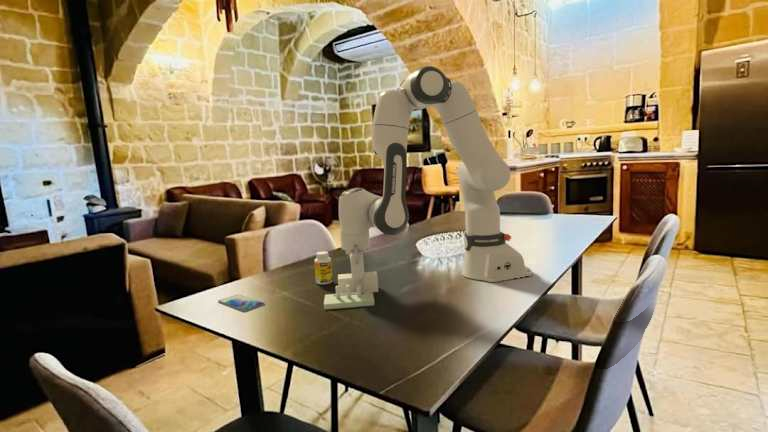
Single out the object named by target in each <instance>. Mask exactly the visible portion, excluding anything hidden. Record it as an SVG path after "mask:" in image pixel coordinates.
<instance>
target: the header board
mask: <svg viewBox="0 0 768 432" xmlns="http://www.w3.org/2000/svg"><path fill="white" fill-rule="evenodd" d="M370 306H371V307H372V306H375V297H374V292H372V291H364V292H361V284H357V292H352V293H351V290H350V285H346V293H340V286H338V285H336V286H335V293H331V294H330V293H329V294H324V300H323V310H324V311H325V310H335V309H346V308H358V307H370Z"/></svg>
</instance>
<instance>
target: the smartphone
mask: <svg viewBox="0 0 768 432" xmlns="http://www.w3.org/2000/svg"><path fill="white" fill-rule="evenodd" d="M217 301H218V304H220V305H224V306H226V307H228V308H231V309H234V310H237V311H239V312H243V313H247V312H250V311H253V310H255V309H256V310H257V309H258V308H261V307H263V306H265V305H266V303H265V302H262V301H259V300H257V299H253V298H250V297H247V296H245V295H241V294H234V295H232V296H229V297H225V298H222V299H219V300H217Z"/></svg>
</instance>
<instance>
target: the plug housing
mask: <svg viewBox="0 0 768 432" xmlns="http://www.w3.org/2000/svg"><path fill="white" fill-rule="evenodd" d="M378 278H379V277H378V272H377V271H368V272H367V271H364V279H362V280H361V287H362V288H361V292H364V291H372V292H373V293H379V279H378ZM337 284H338V285H337V286H340V293H346V285H350V290H351V293H352V292H357V289H356V287H355V280H352V274H351V273H341V274H337Z"/></svg>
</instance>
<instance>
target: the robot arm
mask: <svg viewBox="0 0 768 432" xmlns="http://www.w3.org/2000/svg"><path fill="white" fill-rule="evenodd" d="M429 107H432V108H434V109H435V110H436V111H437V113H438V114H439V116H440V119H441V121H442V124H443V127H444V128H443V129H445V132H446V135H447V137H448V140H449V142H450V144H451V147H452V149H453V150H454V151H455V153H456V154H457V155H458V157H459V158H460V159H461V162H460V163H459V164H458V166H457V168H456V176H457V180H458V182H459V186H460V190H461V196H462V200H463V206H464V217H465V219H464V222H465V223H464V225H465V232H464V236H463V245H464V250H465V252H464V261H463V266H462V267H463V268H462V269H461V275H462V276H463V277H465V278H468V279H472V280H476V281H477V280H479V281H485V282H489V283H495V282H503V280H504V281H509V279H510V280H515V279H514V278H517V279H521V278H520V277H523V278H526V277H525V276H529V275H532V276H533V271H532V269H530V267H528V266H526V264H525V260H524V257H523V255H522V253H520V252H519V251H517V250H516V249H515V248H513V246H511V245H509V244H508V243H507V242H509V241H511V240H512V236H511V235H510V234H509V233H504V232H502V231H501V210H500V206H499V204H498V202H497V199H496V195H495V192H497V191H500V190H502V189H504V188H505V187H506V186H507V185H508V183H509V181H510V179H511V169H510V166H509V164H508V163H506V161H504V159H503V158H502V157H501V156H500V154H499V152H498V151H497V149H496V148H495V146H494V144H493V143H492V142H491V140H490V138H489V136H488V135H487V132H486V130H485V129H484V128H485V127H484V126H483V124H482V121H481V119H480V118H481V117H480V116H479V113H478V109H477V107H476V105H475V103H474V100H473V98H472V96H471V94H470V93H469V91H468V89H467V87H466V86H465V85H464V83H462V82H461V81H458V80H452V81H451V80H450V79H449V78H448V77H447V76H446V75H445V73H444V72H443V71H442V70H440V69H439V68H437V67H436V66H431V65H428V66H427V65H426V66H422V67H420V68H418V69H416V70H415V71H412V73H409V75H408V76H407V77H406V78H405V79H404V80H403V81H402V82H401V84H400V85H399V86H398V88H397V89H386V90H384V91H383V92H381V93H380V94H379V96H378V98H377V102H376V105H375V108H374V109H375V110H374V113H373V120H372V127H371V144H372V149H373V150H374V152H375V153H376V154H377V156H378V157H379V158H380V161H381V162H382V165H383V170H384V172H383V190H382V196H379V195H377V194H374V193H372V192H370V191H367V190H366V189H365V188H363V187H353V188H350V189H347V190H345V191H343V192H342V193H340V195H339V198H338V220H339V223H340V231H339V235H340V236H339V237H340V249H341V250H344V251H345V254H346V255H348V257H349V261H350V271H351V273H350V274H352V280H355V287H356V289H357V284H361V280H362V279H364V272H365V267H364V266H365V264H364V255H363V254H366V253H367V249H368V248H370V246H371V240H370V229H371V228H376V229H377V230H379V231H380V233H382V234H384V235H387V236H395V235H398V234H400V233H401V232H403V231H404V229H406V227H407V226H408V224H409V220H410V212H409V207H408V205H407V201H406V185H407V168H408V167H407V163H408V162H407V154H408V153H407V150H408V138H409V132H410V131H409V129H410V119H411V116H412V114H413V112H416V111H420V110H424V109H426V108H429ZM529 277H530V276H529ZM361 288H362V287H361Z"/></svg>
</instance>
